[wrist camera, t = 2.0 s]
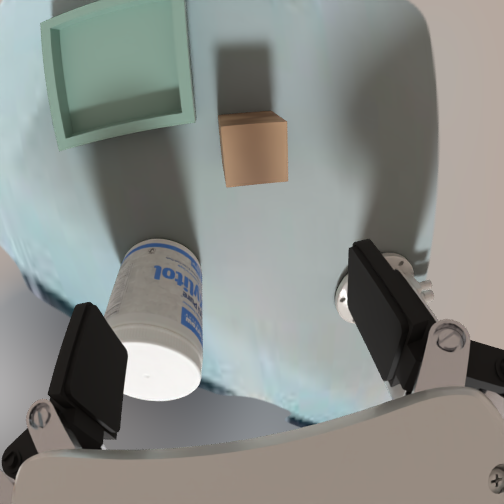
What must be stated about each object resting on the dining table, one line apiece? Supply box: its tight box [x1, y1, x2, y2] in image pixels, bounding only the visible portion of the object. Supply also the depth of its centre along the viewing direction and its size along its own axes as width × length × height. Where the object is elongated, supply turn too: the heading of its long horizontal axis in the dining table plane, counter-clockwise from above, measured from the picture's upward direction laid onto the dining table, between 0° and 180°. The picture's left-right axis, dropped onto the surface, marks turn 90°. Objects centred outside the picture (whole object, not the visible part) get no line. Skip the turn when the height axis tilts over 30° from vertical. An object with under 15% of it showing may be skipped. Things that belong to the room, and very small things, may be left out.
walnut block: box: [218, 111, 288, 187], centre depth 25 cm, size 5×5×6 cm
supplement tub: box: [104, 239, 203, 401], centre depth 29 cm, size 10×10×15 cm
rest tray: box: [40, 0, 196, 151], centre depth 21 cm, size 13×13×3 cm
